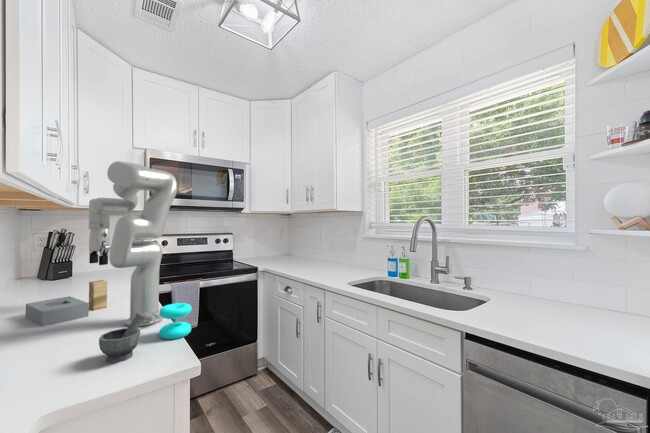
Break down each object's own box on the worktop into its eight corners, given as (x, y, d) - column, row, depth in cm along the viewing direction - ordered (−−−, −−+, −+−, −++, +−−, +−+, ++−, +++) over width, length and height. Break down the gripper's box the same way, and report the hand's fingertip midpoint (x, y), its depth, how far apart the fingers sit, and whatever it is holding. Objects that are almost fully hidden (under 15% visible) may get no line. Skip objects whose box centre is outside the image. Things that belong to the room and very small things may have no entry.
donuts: (152, 307, 98) (179, 300, 107) (152, 337, 98) (178, 327, 107) (172, 312, 94) (197, 304, 103) (171, 342, 94) (197, 332, 103)
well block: (88, 316, 119) (88, 302, 120) (42, 326, 107) (42, 311, 108) (69, 308, 130) (69, 296, 130) (25, 317, 118) (25, 303, 118)
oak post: (106, 307, 131) (107, 281, 132) (93, 310, 127) (94, 283, 127) (101, 306, 134) (102, 280, 134) (88, 308, 130) (89, 282, 130)
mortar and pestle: (101, 369, 77) (102, 324, 77) (95, 358, 83) (96, 316, 83) (149, 356, 85) (150, 314, 85) (141, 346, 91) (141, 308, 91)
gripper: (117, 226, 130) (117, 264, 130) (100, 225, 139) (99, 261, 139) (97, 226, 124) (97, 266, 123) (81, 226, 133) (80, 263, 132)
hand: (98, 263), depth 131 cm, fingers open, 9 cm apart
